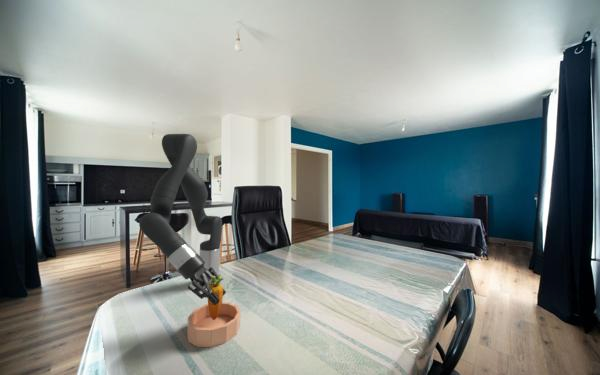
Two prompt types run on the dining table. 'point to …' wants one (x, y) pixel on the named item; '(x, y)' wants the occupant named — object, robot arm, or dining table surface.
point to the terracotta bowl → (213, 325)
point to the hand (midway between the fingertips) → (220, 298)
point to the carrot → (218, 291)
